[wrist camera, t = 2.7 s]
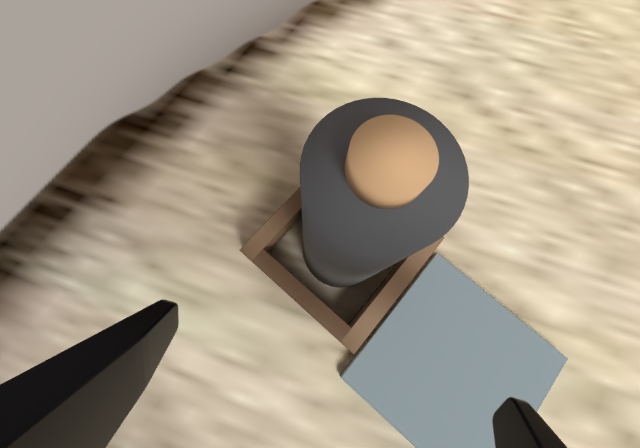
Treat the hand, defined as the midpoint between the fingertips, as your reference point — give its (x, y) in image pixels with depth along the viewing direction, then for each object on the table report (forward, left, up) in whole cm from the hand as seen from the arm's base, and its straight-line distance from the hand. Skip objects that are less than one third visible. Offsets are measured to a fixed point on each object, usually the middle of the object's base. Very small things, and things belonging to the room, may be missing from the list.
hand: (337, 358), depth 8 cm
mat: (+4, -8, -12) cm, 15 cm away
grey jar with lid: (+5, +2, -12) cm, 13 cm away
